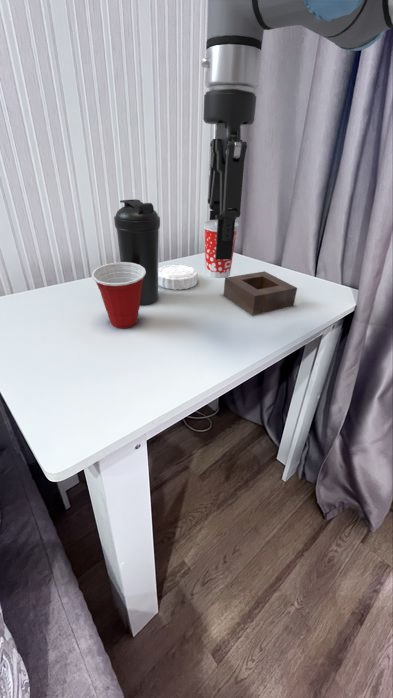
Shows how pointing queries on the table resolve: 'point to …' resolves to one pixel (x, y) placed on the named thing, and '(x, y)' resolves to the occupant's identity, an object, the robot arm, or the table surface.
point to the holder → (259, 292)
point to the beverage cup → (211, 264)
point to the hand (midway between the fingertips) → (219, 252)
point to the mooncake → (177, 277)
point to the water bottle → (140, 243)
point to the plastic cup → (120, 291)
